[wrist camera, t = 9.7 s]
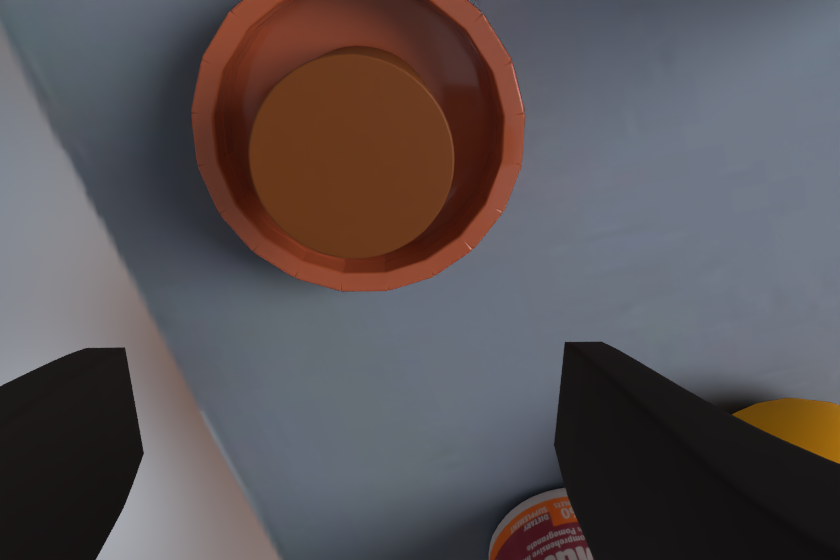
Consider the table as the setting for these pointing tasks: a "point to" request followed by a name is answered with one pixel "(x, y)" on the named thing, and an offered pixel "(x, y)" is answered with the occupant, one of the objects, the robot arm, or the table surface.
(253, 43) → the terracotta bowl
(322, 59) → the brown cylinder
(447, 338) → the table surface
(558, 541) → the pill bottle
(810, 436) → the orange
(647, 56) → the table surface
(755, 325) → the table surface
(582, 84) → the table surface
